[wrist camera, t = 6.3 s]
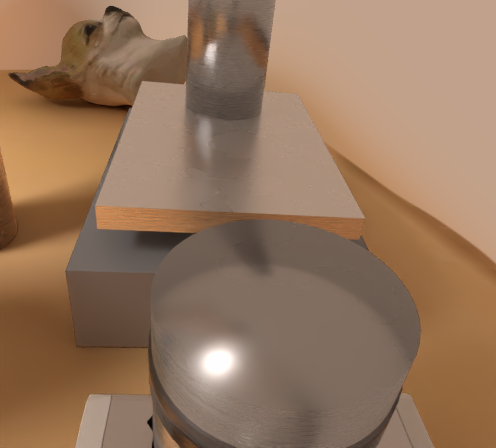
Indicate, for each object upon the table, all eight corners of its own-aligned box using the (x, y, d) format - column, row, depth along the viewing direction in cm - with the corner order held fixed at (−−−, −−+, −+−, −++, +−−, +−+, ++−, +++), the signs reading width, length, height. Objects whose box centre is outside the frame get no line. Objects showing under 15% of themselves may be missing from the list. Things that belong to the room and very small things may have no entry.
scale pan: (97, 228, 17) (95, 205, 16) (142, 96, 29) (142, 81, 28) (359, 239, 18) (365, 218, 17) (295, 108, 30) (297, 93, 30)
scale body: (76, 346, 18) (65, 270, 16) (131, 162, 33) (129, 108, 30) (370, 349, 20) (396, 280, 18) (301, 172, 34) (311, 121, 32)
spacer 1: (183, 117, 24) (189, -117, 19) (185, 90, 28) (192, -111, 22) (266, 123, 25) (297, -102, 19) (258, 96, 28) (281, -99, 23)
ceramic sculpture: (148, 22, 31) (-15, 1, 36) (155, 141, 36) (9, 109, 40) (216, 9, 40) (77, -7, 44) (214, 106, 44) (89, 83, 49)
